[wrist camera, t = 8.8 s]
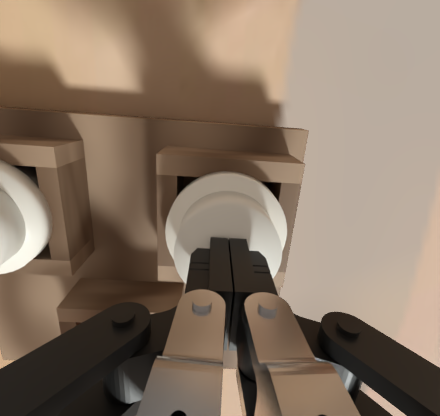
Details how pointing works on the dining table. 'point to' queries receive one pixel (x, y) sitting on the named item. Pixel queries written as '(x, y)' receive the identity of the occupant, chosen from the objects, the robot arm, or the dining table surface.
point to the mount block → (123, 210)
